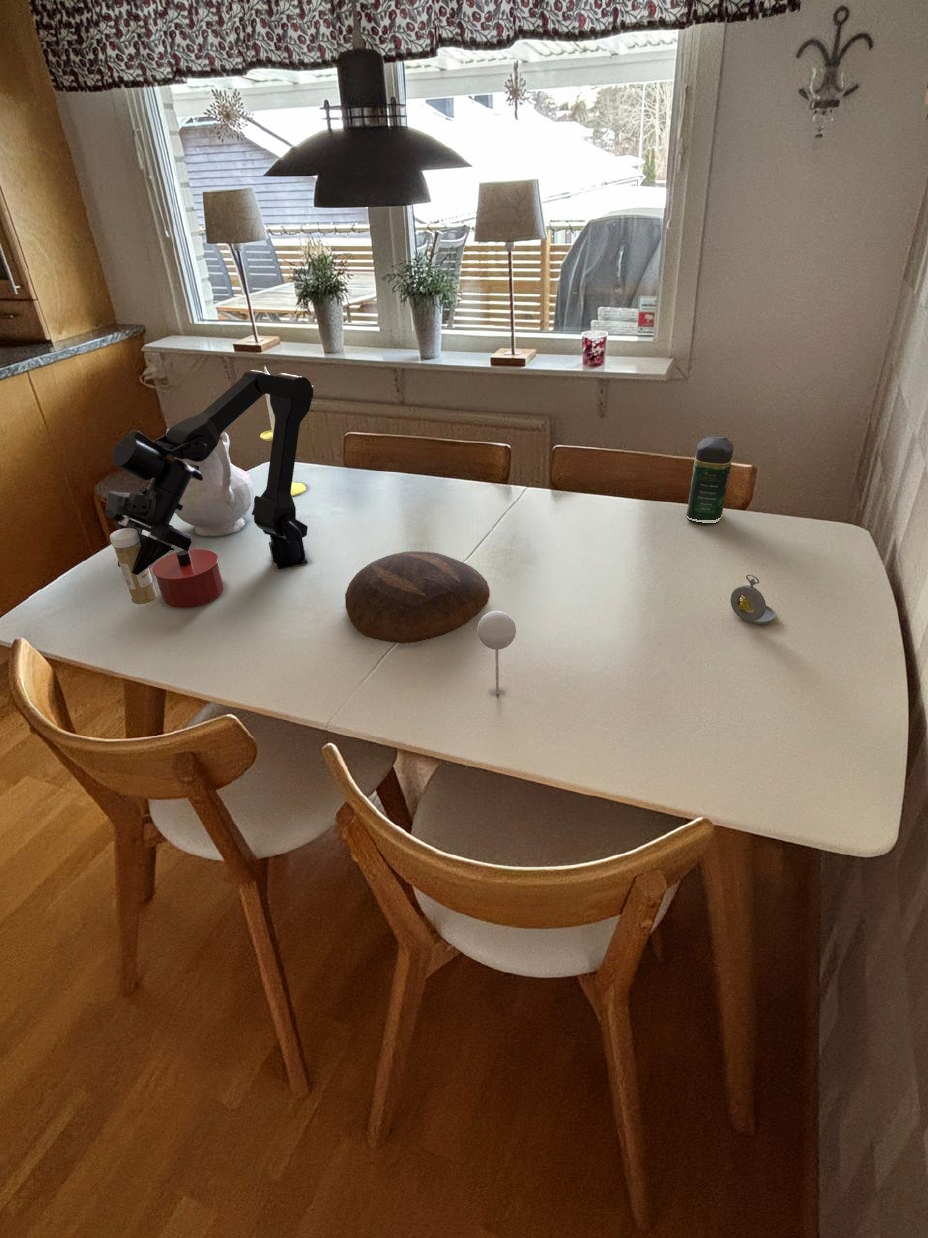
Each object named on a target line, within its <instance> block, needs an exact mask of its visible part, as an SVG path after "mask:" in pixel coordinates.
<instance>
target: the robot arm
mask: <svg viewBox="0 0 928 1238" xmlns="http://www.w3.org/2000/svg"><path fill="white" fill-rule="evenodd" d="M265 394H270V404H271V407H272V410H273V413H274V416H275V424H274V432H273V440H272V441H271V449H270V457H269V466H268V473H267V479H266V487H265V490H264V491H263V493H262V494H261V495H260V496H259V495H255V496H254V497H253V510H252V512H251V515H252V516H253V522H254V524H255V525H256V526H257V528H259V529H260V530H261V531H262V532H263V534H264V535H268V536H269V538H270V541H268V547H269V551H270V557H271V560H272V562H273V564H274V565H276V568H277V569H278V570H282V569H287V568H291V567H295V566H300V565H305V564H308V563H309V560H308V558H307V556H306V553H305V551H306V550H305V547H304V540H303V538H305V537H307V536H308V528H309V527H308V525H307V524H305V523H303V522H301V521H300V520H298V519H297V508H296V507H297V506H296V504H295V501H294V499H293V497H292V495H291V487H292V482H293V478H294V473H295V472H294V471H295V464H296V457H297V456H296V455H297V449H298V442H299V435H300V428H301V427H300V425H301V423H302V421H303V420H304V419H305V418H306V416H307V415H308V413H309V411H310V409H311V405H312V401H313V399H314V385H312V383H311V381H310V380H309V379H308V378H307V377H304V376H300V375H294V374H289V373H283V372H279V373H277V374H276V375H272V374H270V375H268V374H267V373H265V372H264V371H260V370H255V369H249V370H246V371H245V372H243V374H242V376H241V378H239V379H238V380H237V381H236V382H234V384H233V385H232V386H230V387H229V388H227V390H226V391H225V392H223V393H222V394H221V395H219V397H218V398H216V399H215V400H214V401H213V402H212V403H211V404H210V405H208V406H207V408H205V409H204V410H203V411H202V412H200V413H198V414H196V415H193V416H189V417H186V418H184V419H183V420H181V421H179V422H177V423H175V424H174V425H172V426H171V427H170V428H168V429H169V430H168V432H167V431H166V432H167V434H166V433H165V434H164V435H162V436H160V437H158V438H155V439H154V440H152V439H150V438H149V437H147V436H146V435H145V434H144V433H142V432H141V431H138V430H134V429H131V430H130V432H129V435H127V436H125V437H123V438H122V439H120V441H119V442H118V443H116V444H115V446H114V448H113V451H112V454H111V460H112V463H113V465H114V466H117V467H118V468H120V469H122V470H123V471H126V472H127V473H129V474H131V475H133V476H135V477H137V478H139V479H141V480H143V481H149V480H150V483H149V484H148V487H147V488H146V487H144V486H142V487H140V488H139V489H138V491H137V493H135V492H123V491H114V490H113V491H112V490H111V491H110V490H108V491H107V496H106V502H105V503H106V504H105V513H104V516H105V517H107V518H109V519H111V520H114V522H113V525H114V526H115V527H116V528H117V530H120V529H125V528H133V529H135V530H137V532H138V535H139V538H140V545H141V547H140V550H139V553H138V555H137V558H136V561H135V563H134V566H133V570H132V573H133V574H135V575H139V574H140V573H141V572H142V571H144V570H145V569H146V568H147V567H148V568H149V567H150V566H151V565H154V564H155V563H156V562H157V561H158V560H160V559H161V558H163V557H165V556H166V555H167V554H168V553H170V552H171V551H172V552H174V551H175V549H176V548H179V549H180V550H185V551H187V552H188V550H190V549H191V546H192V545H193V540H192V536H191V535H190V534H188V533H186V532H183V531H182V530H179V529H177V528H175V526H174V525H172V524H170V523H171V521H172V520H173V517H174V515H175V514H176V513H175V511H176V509H177V510H180V511H181V510H182V508H183V505H181V504H179V502H180V500H181V498H182V496H183V494H184V492H185V490H186V488H187V486H188V484H189V481H190V479H191V478H194V479H197V480H200V481H202V480H203V477H202V474H201V472H200V470H199V466H198V465H195V464H189V465H188V464H186V463H184V462H182V461H181V460H179V459H187V460H191V461H195V462H201V461H204V460H205V459H207V458H208V457H209V455H210V454H211V453H212V451H213V450H214V449H215V448H216V446H217V445H218V442H219V438H220V435H221V434H222V433H223V432H225V430H226V429H227V428H229V427H230V426H231V425H232V424H233V423H234V422H235V421H236V420H237V419H238V418H240V417H241V416H242V415H243V414H244V413H246V411H247V410H249V408H251V407H252V406H253V405H254V404H255V403H256V402H257V401H259V399H261V398H262V397H263V396H264V395H265ZM168 456H169V457H172V459H169V458H167V457H168ZM174 457H175V458H178V459H175V458H174ZM115 521H117V522H115ZM144 531H146V532H148V533H149V534H148V535H145V534H143V532H144ZM173 546H174V547H176V548H174V547H173ZM117 567H119V568H121V567H120V564H119V560H118V559H117Z"/></svg>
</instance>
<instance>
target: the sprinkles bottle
mask: <svg viewBox="0 0 928 1238" xmlns="http://www.w3.org/2000/svg"><path fill="white" fill-rule="evenodd" d="M109 540H110V544H111V546H112V548H113V549H114V551H115V554H116V557H117V561H118V560H119V564H120V567H119V568H120V570H121V572H122V576H123V578H124V579H123V580H124V582H125V584H126V587H127V589H128V592H129V595H130V598H131V599H130V601H131V602H132V603H133V604H135V605H147V604H149V603H151V602H153V601H155V600H156V599H157V598H158V592H157V591H156V588H155V584H154V582H153V577H152V575H151V572H150V571H151V570H150V568H149V567H147V568H146V569H145V570H144V571H142V572H141V573H140V574H139V575H135V574H133V573H132V570H133V566H134V563H135V561H136V558H137V555H138V553H139V550H140V547H141V545H140V538H139V535H138V532H137V530H135V529H133V528H125V529H120V530H118V529H117V530H114V531H113V532H111V533H110V535H109Z"/></svg>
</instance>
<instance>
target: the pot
mask: <svg viewBox="0 0 928 1238" xmlns="http://www.w3.org/2000/svg"><path fill="white" fill-rule="evenodd" d="M155 578H156V583H157V585H158V589H159V592H160V595H161V599H162V601H163V603H164V604H165V605H166V606H168V607H171V608H174V609H175V608H176V609H192V608H197V607H200V606H204V605H206V604H209V603H211V602H213V601H214V600H216V599H217V598H219V597H220V596H221V595H222V594H223V592H224V582H223V578H222V573H221V570H220V565H219V563H218V564H217V566H216V567H215V568H214V569H212V570H211V571H210V572H208V573H206V574H204V575H201V576H199V577H196V578H192V579H187V580H181V581H167V580H162V579H159V578H157V577H155Z"/></svg>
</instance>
